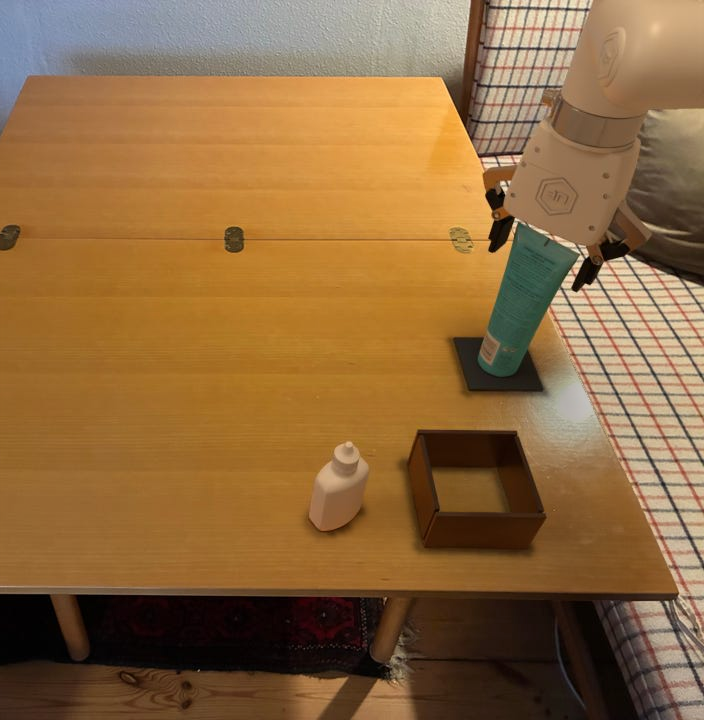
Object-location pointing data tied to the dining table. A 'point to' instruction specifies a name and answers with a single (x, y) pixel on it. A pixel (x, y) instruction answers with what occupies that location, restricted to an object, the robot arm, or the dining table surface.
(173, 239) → the dining table surface
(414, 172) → the dining table surface
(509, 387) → the mat
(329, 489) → the eye dropper bottle
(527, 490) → the tube holder
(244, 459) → the dining table surface
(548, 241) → the tube
